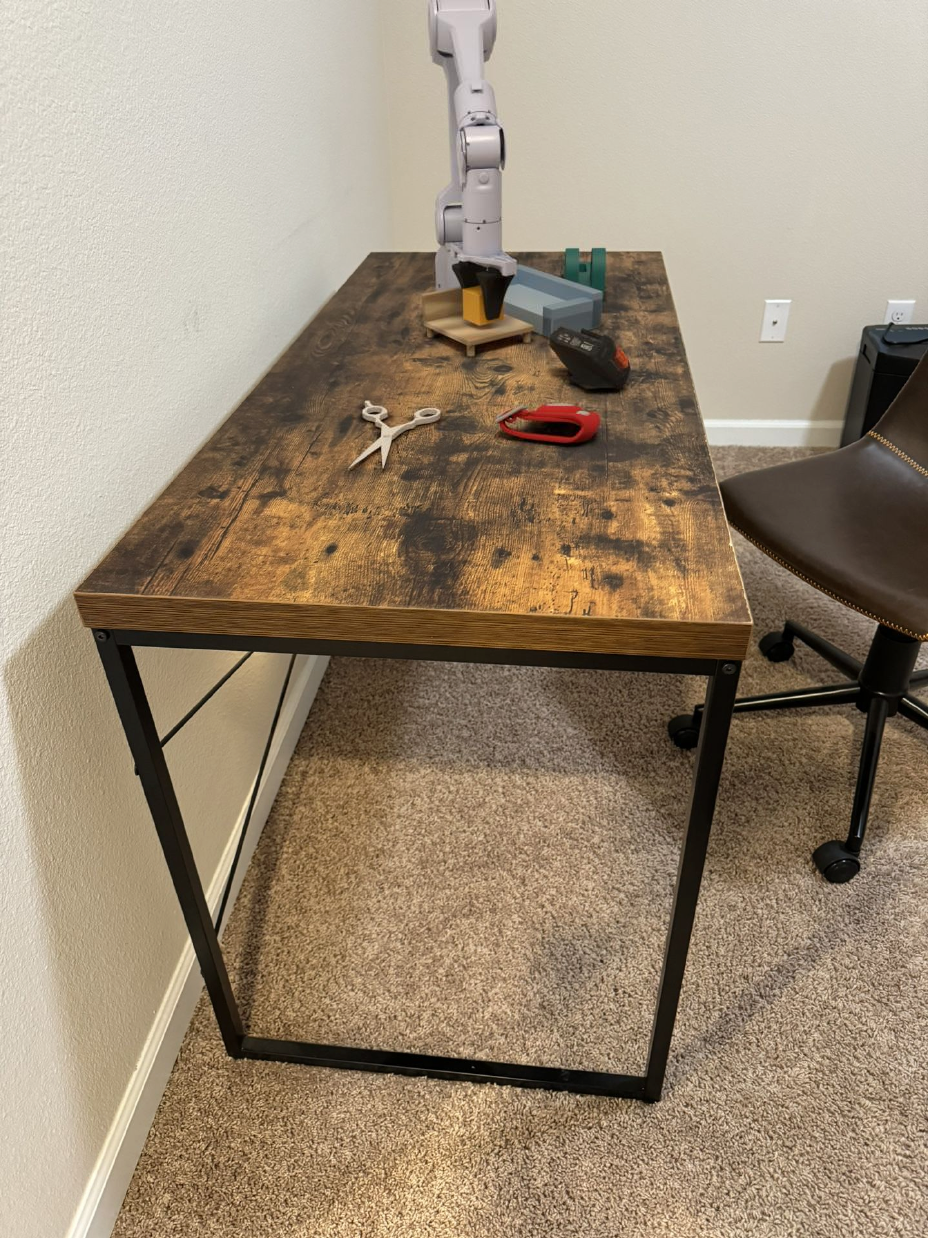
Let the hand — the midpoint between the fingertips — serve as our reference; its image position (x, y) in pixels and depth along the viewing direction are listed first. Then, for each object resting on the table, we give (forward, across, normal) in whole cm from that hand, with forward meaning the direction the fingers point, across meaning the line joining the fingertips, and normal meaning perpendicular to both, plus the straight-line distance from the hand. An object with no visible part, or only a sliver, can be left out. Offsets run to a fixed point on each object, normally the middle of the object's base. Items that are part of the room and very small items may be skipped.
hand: (483, 314), depth 139 cm
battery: (+4, +24, +2) cm, 24 cm away
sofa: (+4, -5, +14) cm, 16 cm away
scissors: (+4, +24, -30) cm, 39 cm away
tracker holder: (+4, +34, -14) cm, 36 cm away
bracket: (+4, -14, +32) cm, 35 cm away
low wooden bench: (+4, -1, 0) cm, 4 cm away
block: (+1, 0, 0) cm, 1 cm away
